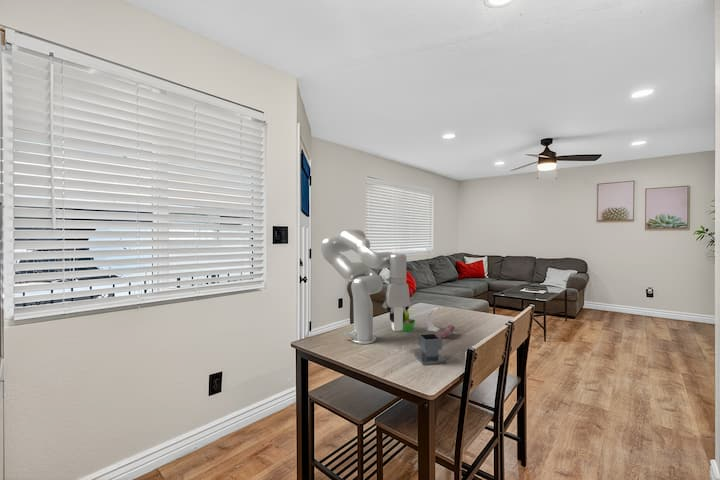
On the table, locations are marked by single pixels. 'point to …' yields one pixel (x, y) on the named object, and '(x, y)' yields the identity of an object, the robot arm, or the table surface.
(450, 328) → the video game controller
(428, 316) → the headphone stand
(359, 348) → the table surface
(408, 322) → the fruit basket
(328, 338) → the table surface
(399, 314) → the rail post
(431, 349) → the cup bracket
